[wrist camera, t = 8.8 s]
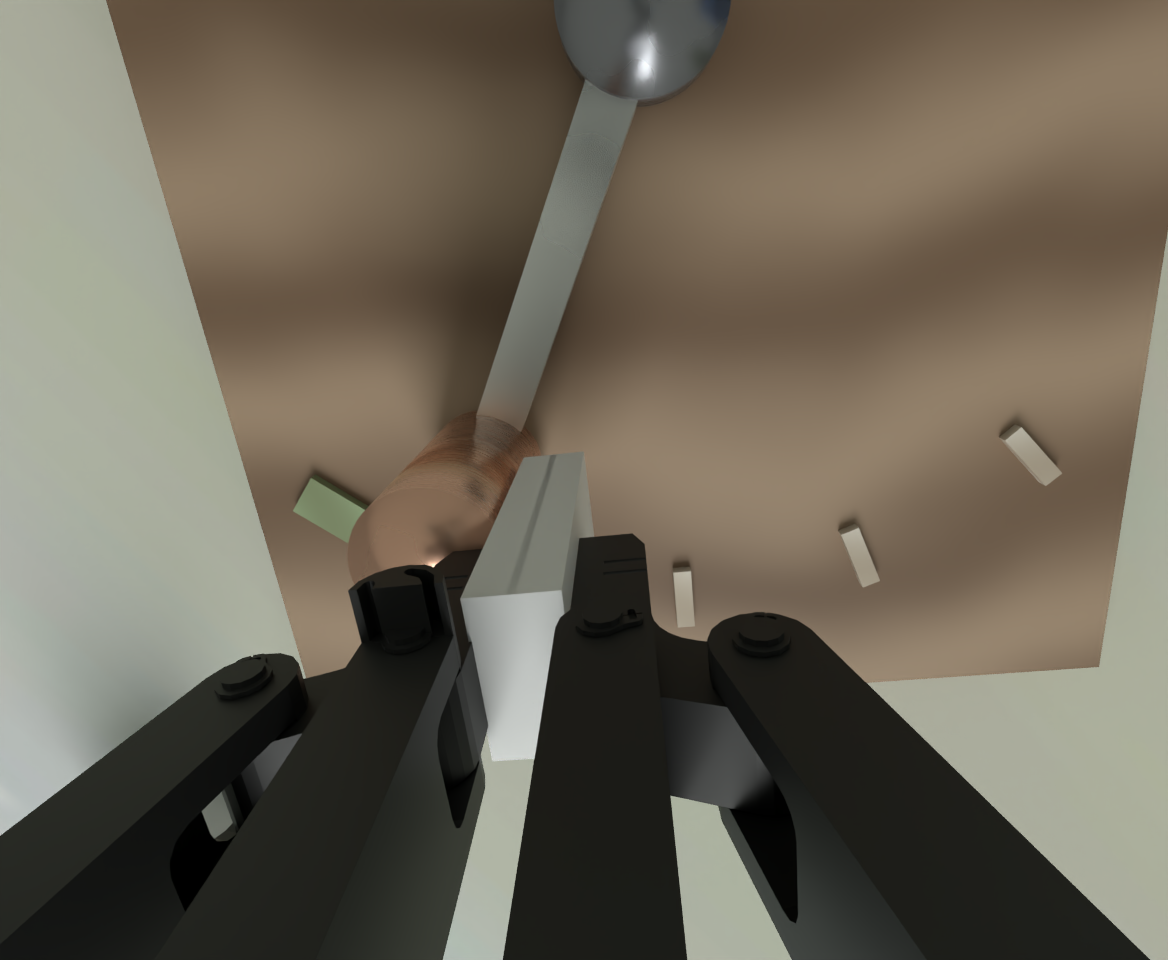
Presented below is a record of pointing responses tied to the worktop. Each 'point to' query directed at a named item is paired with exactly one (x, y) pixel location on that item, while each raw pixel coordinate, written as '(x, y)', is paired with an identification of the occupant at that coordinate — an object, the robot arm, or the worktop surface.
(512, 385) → the crank handle
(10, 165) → the worktop surface
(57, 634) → the worktop surface
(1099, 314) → the dial board
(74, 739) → the worktop surface
